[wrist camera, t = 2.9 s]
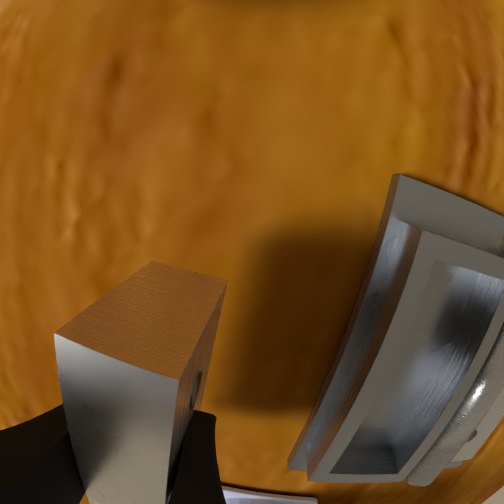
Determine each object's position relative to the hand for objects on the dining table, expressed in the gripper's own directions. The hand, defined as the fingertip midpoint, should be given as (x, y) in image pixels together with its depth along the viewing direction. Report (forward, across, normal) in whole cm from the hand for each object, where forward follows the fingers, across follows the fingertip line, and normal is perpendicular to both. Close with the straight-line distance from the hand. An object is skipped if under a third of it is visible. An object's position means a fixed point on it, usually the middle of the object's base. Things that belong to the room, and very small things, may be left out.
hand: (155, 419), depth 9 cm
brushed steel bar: (+2, 0, 0) cm, 2 cm away
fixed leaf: (+5, -13, -1) cm, 14 cm away
